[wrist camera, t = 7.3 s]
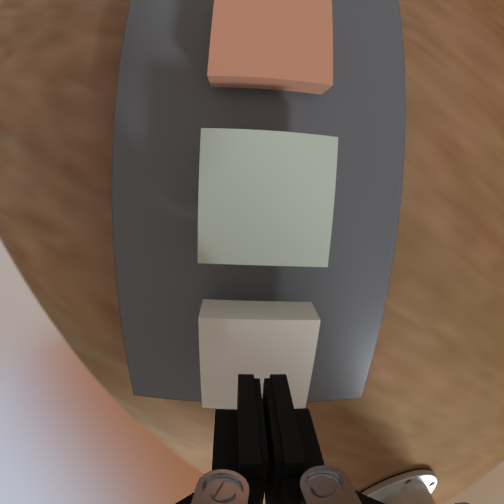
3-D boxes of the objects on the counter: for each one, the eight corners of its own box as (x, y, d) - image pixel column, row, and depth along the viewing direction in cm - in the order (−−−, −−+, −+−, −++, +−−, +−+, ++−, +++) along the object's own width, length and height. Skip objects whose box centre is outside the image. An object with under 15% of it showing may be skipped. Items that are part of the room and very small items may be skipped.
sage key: (316, 254, 13) (327, 267, 12) (202, 250, 13) (197, 263, 11) (324, 140, 12) (338, 137, 10) (206, 133, 12) (200, 127, 10)
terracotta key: (321, 94, 13) (332, 85, 11) (211, 87, 12) (207, 75, 11) (321, 6, 11) (331, -11, 10) (218, -2, 11) (216, -21, 9)
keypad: (347, 371, 21) (360, 397, 18) (144, 367, 20) (133, 395, 17) (377, 14, 14) (397, -5, 11) (149, -3, 14) (136, -26, 11)
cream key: (299, 385, 15) (305, 407, 14) (205, 384, 15) (202, 407, 13) (311, 301, 14) (320, 319, 12) (202, 299, 14) (198, 317, 12)
